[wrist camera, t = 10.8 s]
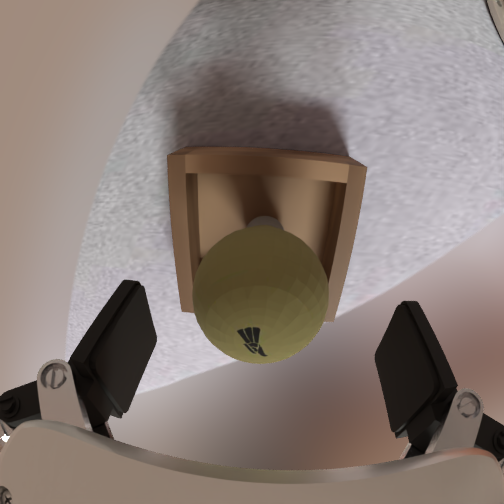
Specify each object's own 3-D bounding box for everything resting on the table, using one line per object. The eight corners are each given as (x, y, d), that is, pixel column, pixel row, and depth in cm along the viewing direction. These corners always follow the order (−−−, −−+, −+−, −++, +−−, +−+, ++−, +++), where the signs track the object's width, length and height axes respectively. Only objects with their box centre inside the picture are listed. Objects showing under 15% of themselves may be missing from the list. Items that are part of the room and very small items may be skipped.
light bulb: (203, 227, 18) (145, 334, 9) (266, 168, 16) (261, 233, 7) (262, 281, 19) (255, 405, 11) (324, 232, 17) (370, 344, 9)
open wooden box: (349, 156, 16) (367, 167, 13) (325, 291, 21) (333, 321, 18) (186, 146, 16) (167, 155, 13) (193, 282, 21) (181, 311, 18)
